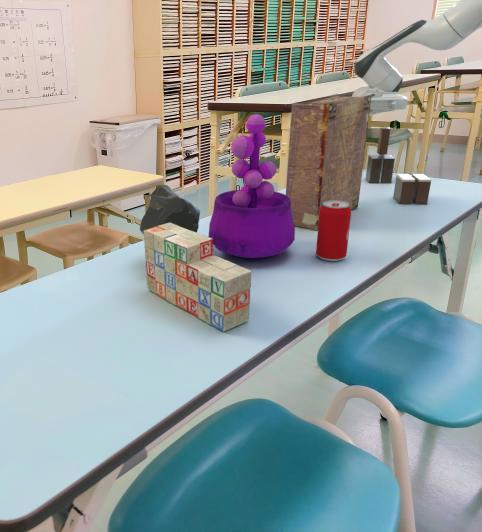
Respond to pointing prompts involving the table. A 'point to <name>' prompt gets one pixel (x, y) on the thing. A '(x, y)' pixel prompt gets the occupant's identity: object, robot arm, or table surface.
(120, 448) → the table surface
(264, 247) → the decorative plant
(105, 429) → the table surface
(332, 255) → the beverage can
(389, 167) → the knife holder
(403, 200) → the brown wooden cube
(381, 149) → the knife
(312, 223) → the book
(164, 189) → the dark grey faceted rock
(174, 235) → the stack of blocks
